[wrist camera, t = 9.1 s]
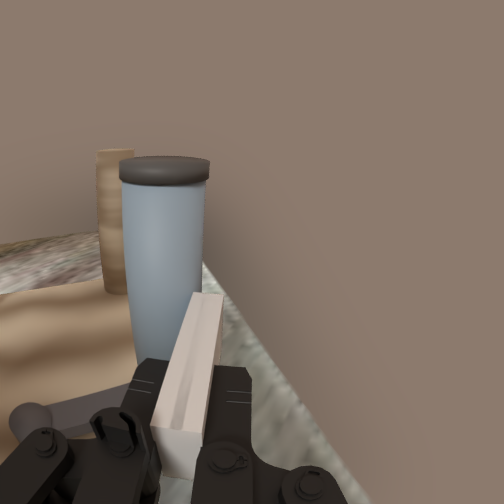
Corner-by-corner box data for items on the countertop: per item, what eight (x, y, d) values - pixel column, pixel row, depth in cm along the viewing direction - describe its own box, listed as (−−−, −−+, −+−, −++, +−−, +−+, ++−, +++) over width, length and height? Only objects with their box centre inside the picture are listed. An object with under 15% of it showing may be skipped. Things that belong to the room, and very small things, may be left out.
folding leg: (22, 462, 9) (-90, 206, 5) (12, 412, 11) (-61, 185, 7) (215, 401, 15) (227, 165, 11) (184, 364, 18) (185, 154, 13)
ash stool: (-29, 323, 20) (-61, 172, 15) (139, 296, 29) (135, 147, 24) (-50, 492, 6) (-189, 260, 1) (227, 444, 16) (248, 188, 10)
